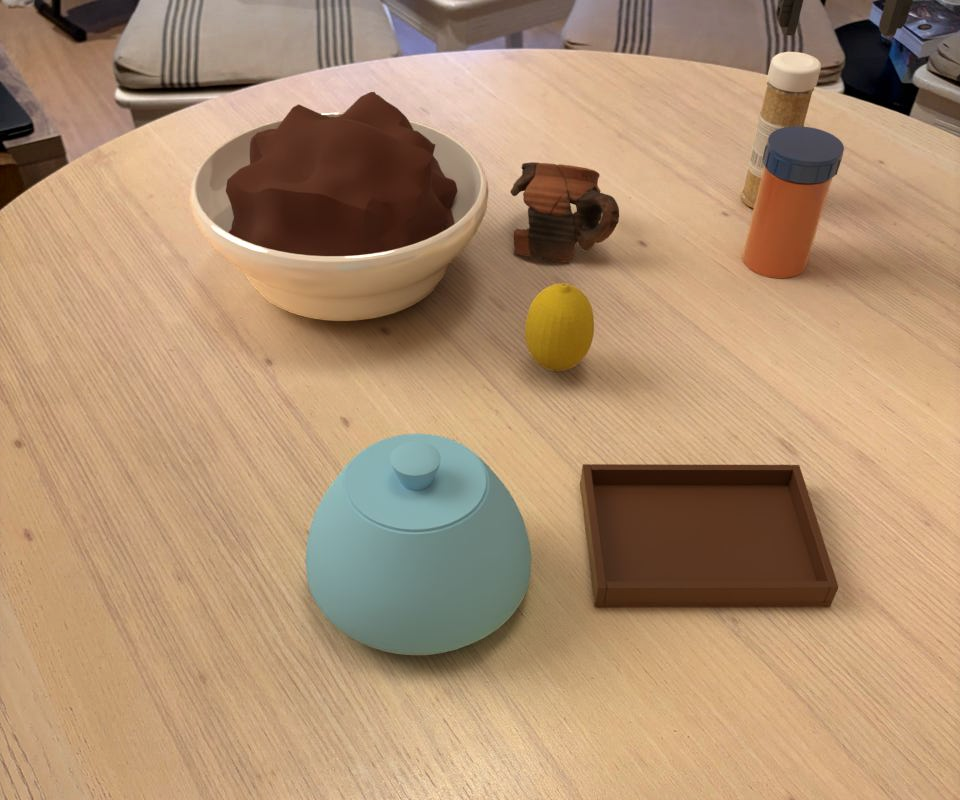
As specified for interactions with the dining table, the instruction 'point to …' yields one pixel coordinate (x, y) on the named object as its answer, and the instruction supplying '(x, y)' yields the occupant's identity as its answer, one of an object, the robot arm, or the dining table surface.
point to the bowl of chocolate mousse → (341, 208)
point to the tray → (703, 537)
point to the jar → (783, 225)
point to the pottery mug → (562, 211)
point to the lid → (803, 154)
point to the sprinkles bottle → (780, 108)
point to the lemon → (559, 327)
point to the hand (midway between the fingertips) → (836, 32)
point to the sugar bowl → (417, 547)
